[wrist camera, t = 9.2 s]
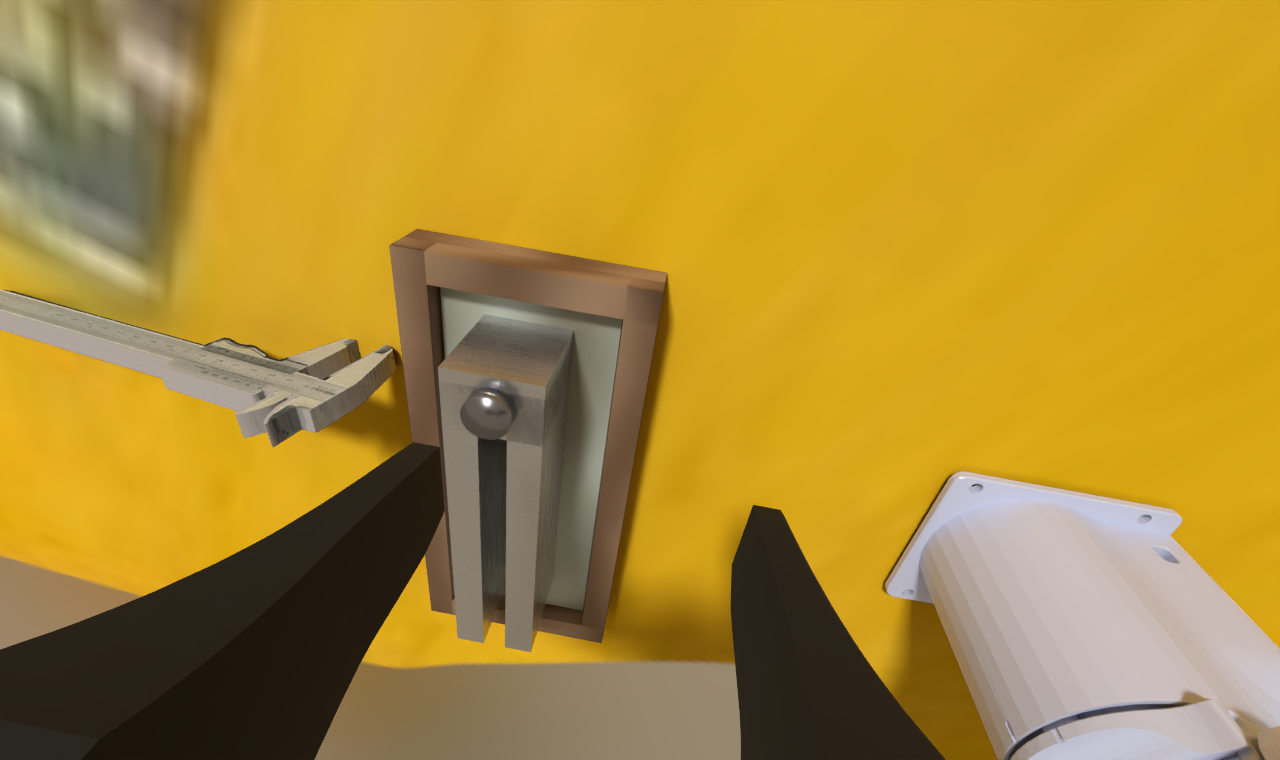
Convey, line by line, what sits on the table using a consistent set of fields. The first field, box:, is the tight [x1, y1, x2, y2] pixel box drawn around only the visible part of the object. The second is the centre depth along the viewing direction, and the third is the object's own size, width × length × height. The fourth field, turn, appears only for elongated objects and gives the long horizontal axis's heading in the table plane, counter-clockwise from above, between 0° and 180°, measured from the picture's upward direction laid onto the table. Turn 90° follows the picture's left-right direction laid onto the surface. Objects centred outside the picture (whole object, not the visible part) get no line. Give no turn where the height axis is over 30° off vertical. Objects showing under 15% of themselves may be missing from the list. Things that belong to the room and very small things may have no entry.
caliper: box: [0, 289, 396, 447], centre depth 21 cm, size 20×1×6 cm, turn 84°
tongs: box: [438, 314, 574, 652], centre depth 22 cm, size 3×14×5 cm, turn 172°
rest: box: [389, 229, 667, 643], centre depth 24 cm, size 9×20×2 cm, turn 172°
